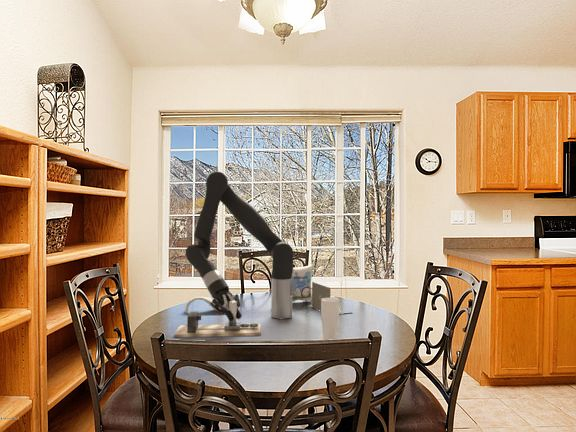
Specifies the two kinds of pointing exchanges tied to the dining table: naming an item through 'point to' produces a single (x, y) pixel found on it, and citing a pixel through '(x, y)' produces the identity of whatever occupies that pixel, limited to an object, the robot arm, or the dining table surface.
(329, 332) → the drinking glass
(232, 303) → the chain handle
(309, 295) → the pouch
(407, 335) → the dining table surface
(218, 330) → the tensioner rail
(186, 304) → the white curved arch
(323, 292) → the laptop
